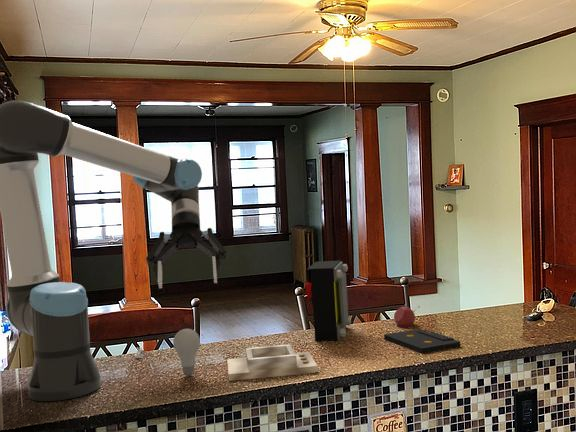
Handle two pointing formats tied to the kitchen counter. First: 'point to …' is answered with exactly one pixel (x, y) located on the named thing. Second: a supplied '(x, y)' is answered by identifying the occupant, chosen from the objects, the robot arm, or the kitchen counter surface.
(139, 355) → the power adapter
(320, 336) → the electrical component
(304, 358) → the desk organizer
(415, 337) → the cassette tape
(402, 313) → the fruit
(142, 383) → the kitchen counter surface
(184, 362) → the lightbulb
